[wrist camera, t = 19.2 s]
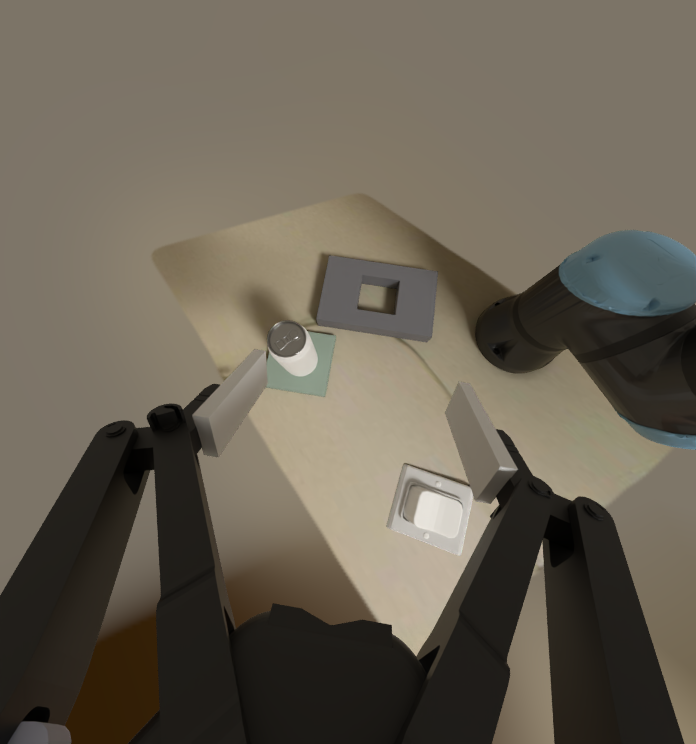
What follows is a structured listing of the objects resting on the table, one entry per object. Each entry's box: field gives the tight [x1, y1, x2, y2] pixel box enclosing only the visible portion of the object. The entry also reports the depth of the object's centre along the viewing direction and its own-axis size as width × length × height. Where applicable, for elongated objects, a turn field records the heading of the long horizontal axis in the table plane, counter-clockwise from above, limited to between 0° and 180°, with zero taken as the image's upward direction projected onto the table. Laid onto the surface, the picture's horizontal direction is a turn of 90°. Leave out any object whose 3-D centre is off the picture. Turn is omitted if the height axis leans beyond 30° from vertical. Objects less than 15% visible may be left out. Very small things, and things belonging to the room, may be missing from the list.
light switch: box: [387, 464, 473, 555], centre depth 41 cm, size 11×4×13 cm
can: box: [267, 320, 318, 376], centre depth 41 cm, size 6×6×12 cm
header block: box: [316, 255, 438, 342], centre depth 49 cm, size 22×14×3 cm, turn 81°
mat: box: [266, 332, 336, 397], centre depth 47 cm, size 12×12×1 cm
